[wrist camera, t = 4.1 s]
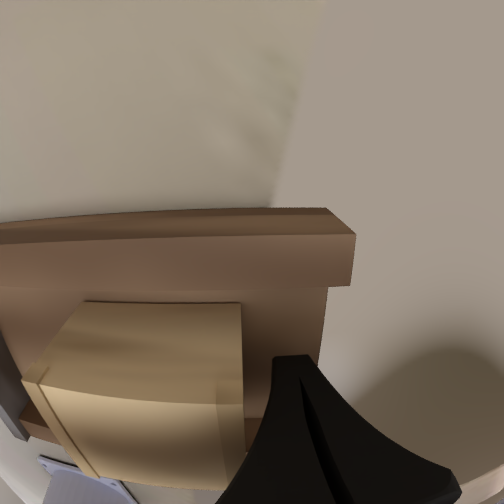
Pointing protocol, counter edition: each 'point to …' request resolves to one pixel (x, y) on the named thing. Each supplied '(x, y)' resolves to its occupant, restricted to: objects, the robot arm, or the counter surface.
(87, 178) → the counter surface
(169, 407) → the box
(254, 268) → the bay
